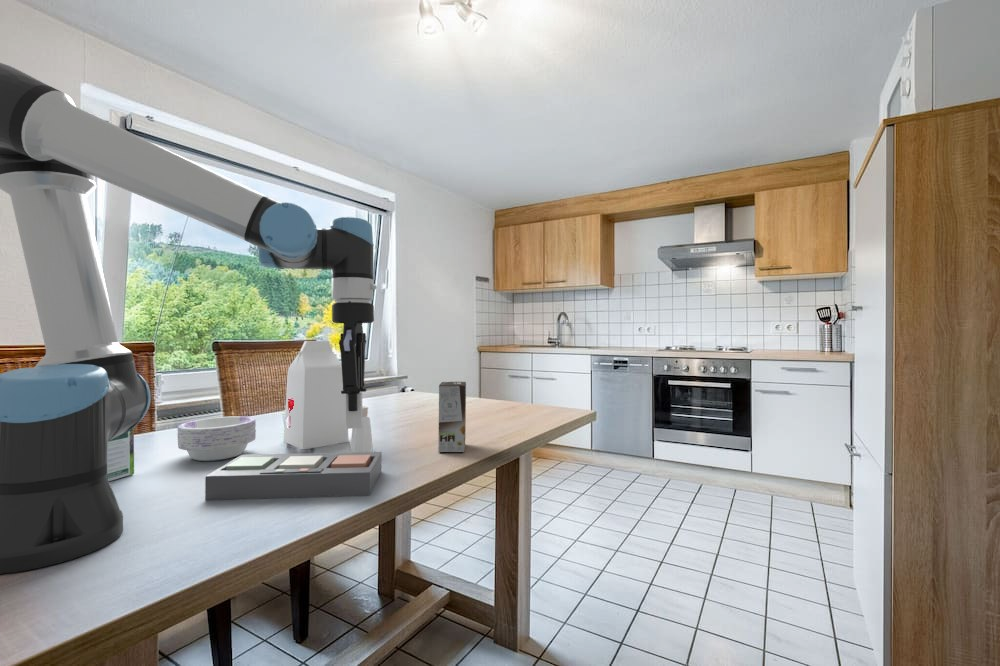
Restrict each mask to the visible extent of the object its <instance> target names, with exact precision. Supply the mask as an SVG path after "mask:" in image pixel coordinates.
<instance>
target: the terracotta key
mask: <svg viewBox="0 0 1000 666" xmlns="http://www.w3.org/2000/svg"><path fill="white" fill-rule="evenodd" d="M370 464H371V455H339V456H338V457H337V458H336V459H335V460H334V462H333V463H332V464H331V468H354V467H369V466H370Z"/></svg>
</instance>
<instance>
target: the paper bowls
mask: <svg viewBox="0 0 1000 666" xmlns="http://www.w3.org/2000/svg"><path fill="white" fill-rule="evenodd" d="M256 426H257V424H256V419H255V418H254V417H251V416H235V415H234V416H231V415H230V416H218V417H217V416H216V417H210V418H202V419H195V420H191V421H187V422H184V423H181V424H179V425H178V426H177V448H178V449H179V450H183V451H186V452H187V454H188V455H189V457H190V458H191V459H192V460H195V461H201V462H214V461H215V462H216V461H222V460H228V459H232V458H235V457H236V458H237V457H239V456H241V455H243V454H244V452H245V450H246V449H247V446H248V444H249V443H251V442H254V441H256V435H257V429H256Z"/></svg>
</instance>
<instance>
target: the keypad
mask: <svg viewBox="0 0 1000 666" xmlns="http://www.w3.org/2000/svg"><path fill="white" fill-rule="evenodd" d="M339 455H371V464H370V466H369V467H354V468H331V464H332V463H333V462H334V460H335V459H336V458H337V457H338V456H339ZM290 456H323V463H322V464H321V465H320V466H319V467H318V468H301V469H279V465H280V464H281V463H283V462H284V461H285V460H287V459H288V458H289V457H290ZM241 457H274V463H272V464H271V465H270V466H268V467H267V468H266V469H263V470H226V466H227V465H229V464H231V463H232V462H234V461H236V460H237V459H239V458H241ZM381 473H382V451H373V452H353V453H350V452H312V453H311V452H310V453H308V452H307V453H306V452H305V453H300V452H299V453H256V454H255V453H254V454H253V453H252V454H240V455H238V456H236V458H235V457H234V458H233V459H232V460H231V461H229V462H227V463H225V464H224V465H222V466H220V467H219V468H217V469H214V470H213V471H212V472H210V473H208V474H206V475H205V477H204V478H205V480H204V481H205V482H204V483H205V485H204V486H205V487H204V488H205V489H204V490H205V491H204V493H205V494H204V499H205V501H214V500H215V501H217V500H218V501H220V500H251V499H253V500H254V499H255V500H256V499H259V500H260V499H285V498H287V499H290V498H291V499H292V498H322V497H324V498H325V497H357V496H358V497H359V496H360V497H361V496H362V497H363V496H370V495H371V494H372V492H373V489H374V487H375V486H376V484H377V482H378V479H379V477H380V475H381Z"/></svg>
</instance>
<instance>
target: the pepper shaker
mask: <svg viewBox="0 0 1000 666" xmlns="http://www.w3.org/2000/svg"><path fill="white" fill-rule="evenodd" d="M368 410H369V407H368V406H364V405H362V418H363V427H362V428H351V437H350V438H351V439H350V447H349V453H353V452H374V448H373V447H374V446H373V436H372V435H373V434H372V426H371V418H370V416H368V414H369V411H368Z"/></svg>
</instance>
